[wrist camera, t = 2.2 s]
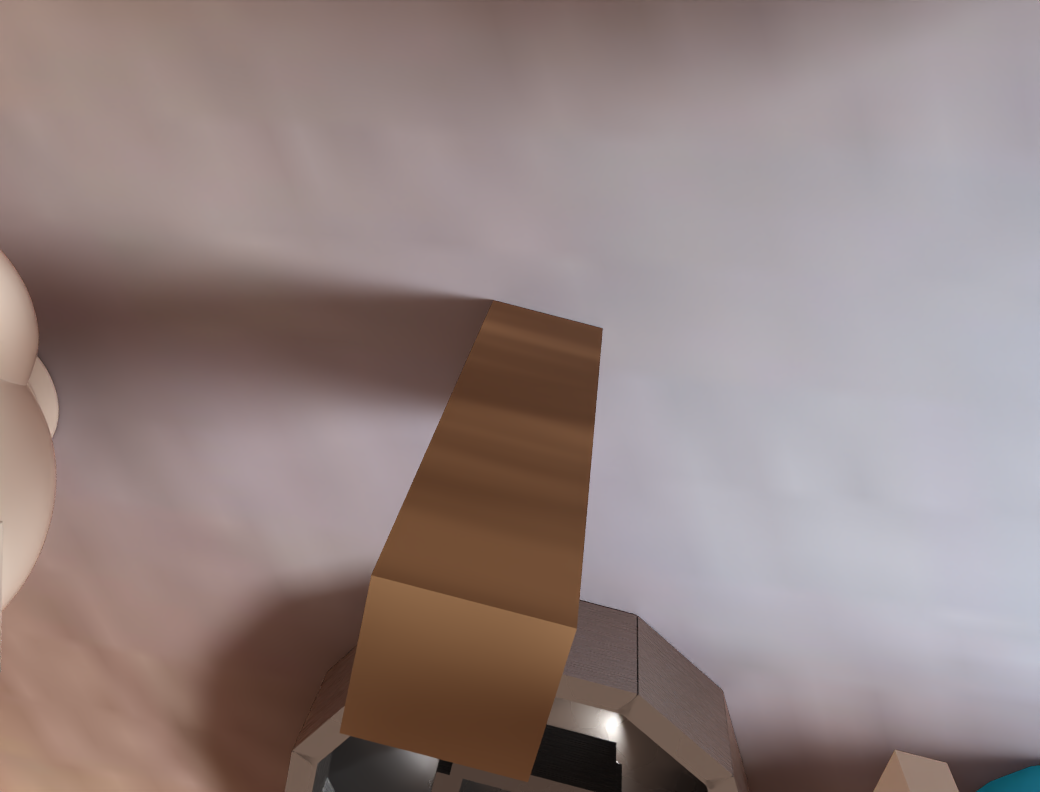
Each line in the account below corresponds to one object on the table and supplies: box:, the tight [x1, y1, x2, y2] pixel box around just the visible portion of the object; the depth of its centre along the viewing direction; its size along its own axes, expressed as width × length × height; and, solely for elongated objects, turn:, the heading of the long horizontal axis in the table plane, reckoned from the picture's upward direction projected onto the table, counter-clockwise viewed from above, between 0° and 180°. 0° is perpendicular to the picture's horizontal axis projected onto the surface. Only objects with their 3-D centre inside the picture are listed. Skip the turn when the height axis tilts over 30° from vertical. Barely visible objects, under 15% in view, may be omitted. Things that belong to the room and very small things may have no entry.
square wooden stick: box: [339, 300, 603, 782], centre depth 20 cm, size 3×3×13 cm
